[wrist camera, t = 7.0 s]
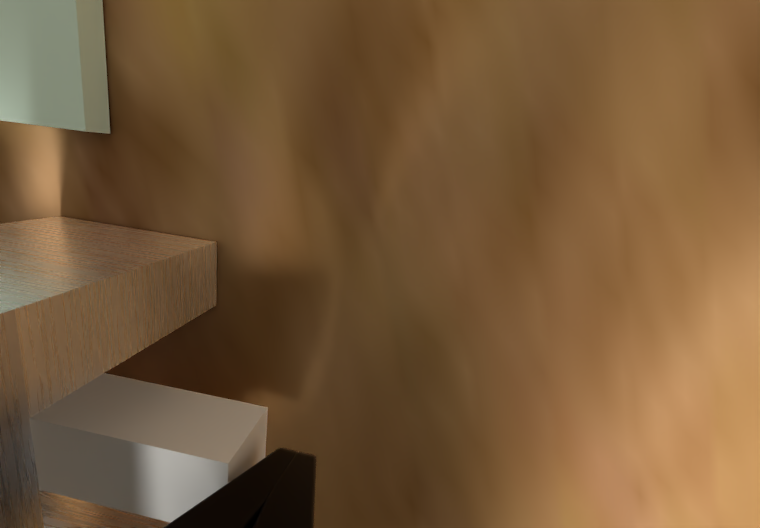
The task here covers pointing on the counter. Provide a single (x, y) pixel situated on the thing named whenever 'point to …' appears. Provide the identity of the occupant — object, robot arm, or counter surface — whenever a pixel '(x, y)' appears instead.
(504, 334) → the counter surface
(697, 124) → the counter surface
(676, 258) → the counter surface
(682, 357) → the counter surface
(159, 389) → the plug
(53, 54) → the mat
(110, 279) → the housing
